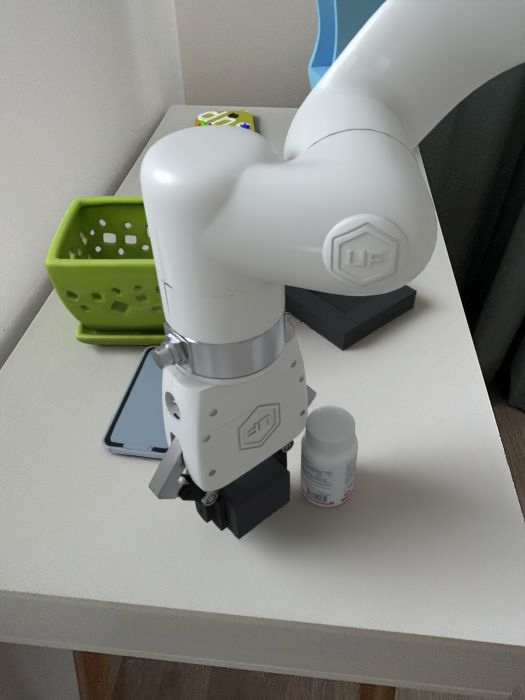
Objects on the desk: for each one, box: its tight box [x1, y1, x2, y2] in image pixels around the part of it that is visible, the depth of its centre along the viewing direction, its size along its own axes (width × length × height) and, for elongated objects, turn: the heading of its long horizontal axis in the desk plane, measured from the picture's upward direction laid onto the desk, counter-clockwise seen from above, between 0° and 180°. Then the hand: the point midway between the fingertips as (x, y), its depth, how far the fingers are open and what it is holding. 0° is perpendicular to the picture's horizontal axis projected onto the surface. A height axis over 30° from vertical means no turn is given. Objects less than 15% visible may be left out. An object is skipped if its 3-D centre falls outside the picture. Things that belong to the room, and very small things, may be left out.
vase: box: [307, 0, 386, 92], centre depth 102 cm, size 10×10×25 cm
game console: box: [194, 109, 256, 132], centre depth 114 cm, size 18×11×2 cm, turn 5°
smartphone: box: [101, 345, 168, 460], centre depth 64 cm, size 7×1×15 cm
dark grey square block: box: [219, 455, 291, 540], centre depth 51 cm, size 6×6×4 cm
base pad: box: [285, 284, 418, 351], centre depth 75 cm, size 12×12×2 cm
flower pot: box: [44, 195, 166, 346], centre depth 70 cm, size 14×14×13 cm
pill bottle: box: [299, 405, 359, 508], centre depth 53 cm, size 5×5×8 cm
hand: (243, 494), depth 52 cm, fingers closed on dark grey square block, 5 cm apart
